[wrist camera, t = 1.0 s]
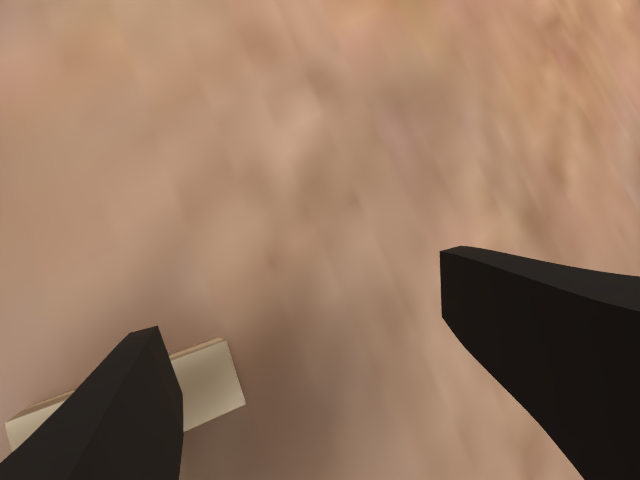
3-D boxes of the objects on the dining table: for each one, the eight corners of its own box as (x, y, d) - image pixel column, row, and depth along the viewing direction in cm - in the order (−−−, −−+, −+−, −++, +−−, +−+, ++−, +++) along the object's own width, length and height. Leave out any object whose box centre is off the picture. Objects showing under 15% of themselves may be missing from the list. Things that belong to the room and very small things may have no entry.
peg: (234, 392, 22) (245, 404, 19) (47, 472, 18) (25, 503, 15) (217, 336, 22) (226, 340, 19) (29, 405, 18) (4, 423, 15)
